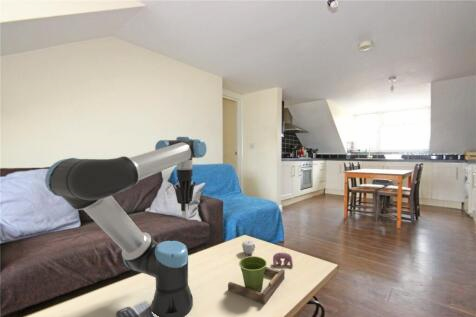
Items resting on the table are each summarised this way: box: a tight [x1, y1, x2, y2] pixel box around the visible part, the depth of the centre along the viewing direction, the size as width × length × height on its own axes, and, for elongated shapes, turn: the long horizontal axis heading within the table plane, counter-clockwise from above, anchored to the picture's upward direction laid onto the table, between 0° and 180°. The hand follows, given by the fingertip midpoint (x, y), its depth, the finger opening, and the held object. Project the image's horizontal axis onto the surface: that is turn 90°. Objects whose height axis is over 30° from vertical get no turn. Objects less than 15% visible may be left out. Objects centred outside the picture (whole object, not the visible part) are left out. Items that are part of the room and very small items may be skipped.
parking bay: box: [227, 266, 285, 305], centre depth 101 cm, size 17×21×5 cm
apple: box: [241, 240, 256, 255], centre depth 132 cm, size 8×8×7 cm
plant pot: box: [238, 255, 268, 293], centre depth 98 cm, size 12×12×11 cm
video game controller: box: [272, 252, 294, 268], centre depth 118 cm, size 10×5×7 cm, turn 85°
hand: (185, 217), depth 112 cm, fingers closed
